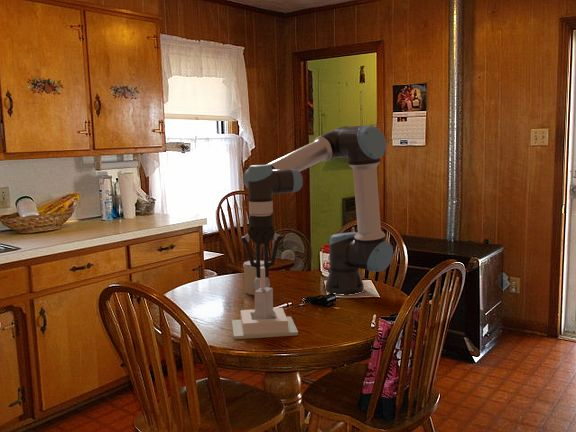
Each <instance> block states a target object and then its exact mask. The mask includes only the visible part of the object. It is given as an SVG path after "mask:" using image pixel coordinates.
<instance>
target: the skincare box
mask: <svg viewBox="0 0 576 432" xmlns="http://www.w3.org/2000/svg"><path fill="white" fill-rule="evenodd" d="M273 308H274V288H273V287H265V289H261V288H259V289H258V290H257V291H255V295H254V309H255V320H260V319H273Z"/></svg>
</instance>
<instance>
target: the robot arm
mask: <svg viewBox="0 0 576 432" xmlns="http://www.w3.org/2000/svg"><path fill="white" fill-rule="evenodd" d="M386 141H387V140H386V138H385V135H384V133H383V131H381V130H380V128H378V127H377V126H373V125H372V126H371V125H352V126H351V125H350V126H347V125H345V126H340V127H337V128H334V129H331V130H330V131H328V132H324V133H323V134H321V135H319V136H316V137H315V138H314V139H313V142H311V143H308V144H305V145H304V146H301V147H299V148H297V149H295V150H294V151H292V152H290V153H287V154H285V155H284V156H281V157H279V158H277V159H275V160H272V161H271V162H269V163H266V164H254V165H253V164H252V165H249V167H248V169H246V170H245V171H244V173H243V176H242V182H243V185H244V186H245V187H246V188H247V189H248V191H247V192H248V214H249V216H248V225H249V226H248V231H247V233H246V234H245V235H243V236H241V241H242V243H243V244H244V245H245V250H246V254H247V256H248V259H249V260H248V261H250V264H251V266H252V267H256V276H257V278H260V288H261V289H265V278H269V276H270V275H269V273H270V272H269V268H270V267H273V266H274V265H275V262H276V257H277V254H278V253H277V252H278V247H279V244H280V242H281V241H282V235H281V234H279V233H276V231H275V229H274V216H273V213H274V207H273V205H274V202H273V195H276V194H277V195H278V194H289V193H290V194H292V193H295V192H298V191H300V190H301V189H302V187H303V181H304V180H303V179H304V178H303V175H302V173H301V172H302V171H304V170H307V169H308V168H310V167H313V166H314V165H316V164H318V163H320V162H328V161H331V160H334V159H340V158H341V159H342V158H343V159H347V165H348V166H349V167H350V168H351V169H352V174H353V175H352V176H353V187H354V198H355V199H354V200H355V202H354V203H355V210H356V211H355V213H356V225H357V226H356V227H357V231H351V232H342V233H341V232H340V233H335V234H332V235H331V236H330V237H329V245H328V247H329V248H328V249H329V251H328V252H329V272H328V275H327V280H326V282H325V292H326V291H327V293H328V292H329V293H328V294H330V293H336V294H344V295H343V296H350V295H349V294H355V293H359V292H362V291H363V290H364V282H363V279H362V275H361V274H360V273H361V272H360V269H361V270H366V271H369V272H377V273H380V272H383V271H385V270H387V268H388V267H389V266H390V264H391V262H392V260H393V257H394V248H393V245H392V244H391V242H389V241H387V240H386V233H385V232H384V231H382V227H381V214H380V199H379V197H380V195H379V184H378V170H377V167H378V165H379V164H380V163H381V158H382V157H383V156H384V154H385V151H386V150H387V142H386ZM272 238H273V240H274V241H273V246H272V248H271V249H272V250H271V253H270V258H269V243H270V241H271V240H272ZM250 239H251V240H252V241H253V243H254V244H255V259H254V257H253V254H252V250H251V246H250V243H249V241H250ZM261 244H263V245H262V246H263V261H264V267H260V260H261ZM254 260H256V263H255V262H254ZM363 292H364V291H363ZM363 292H362V293H363ZM359 294H360V293H359ZM355 295H356V294H355Z"/></svg>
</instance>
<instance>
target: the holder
mask: <svg viewBox="0 0 576 432" xmlns="http://www.w3.org/2000/svg"><path fill="white" fill-rule="evenodd" d="M231 329H232V336H233V340H243V339H259V338H260V339H261V338H276V337H289V336H290V337H291V336H292V337H293V336H299V331H298V328H297V327H296V323H295V322H294V319H293V318H292V316H287V315H286V312H285V311H284V308H283V307H273V319H260V320H255V308H254V309H241V310H240V319H231Z"/></svg>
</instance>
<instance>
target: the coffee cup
mask: <svg viewBox="0 0 576 432" xmlns="http://www.w3.org/2000/svg"><path fill="white" fill-rule="evenodd" d="M253 260H254V262H255V263H256V259H253ZM242 266H243V274H244V275H243V276H244V277H243V278H244V284H245V285H244V286H245V294H248V295H252V296H255V291H256V290H255V288H254V284H253V283H254V280H255V278H256V277H257V276H256V267H252V266H251V264H250V260H247V261H244V262H243V264H242ZM260 267H264V260H261V259H260Z"/></svg>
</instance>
